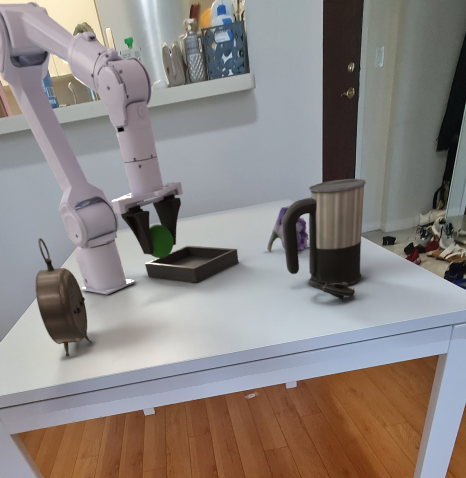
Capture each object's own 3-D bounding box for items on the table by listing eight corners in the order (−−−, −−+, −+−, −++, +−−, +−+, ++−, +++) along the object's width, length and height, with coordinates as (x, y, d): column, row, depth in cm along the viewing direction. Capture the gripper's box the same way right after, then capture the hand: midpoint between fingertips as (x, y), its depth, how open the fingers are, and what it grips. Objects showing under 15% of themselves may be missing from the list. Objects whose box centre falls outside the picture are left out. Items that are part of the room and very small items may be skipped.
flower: (253, 224, 97) (294, 193, 94) (259, 233, 105) (297, 205, 101) (274, 264, 99) (315, 235, 95) (279, 270, 106) (317, 243, 103)
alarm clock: (70, 335, 81) (31, 233, 70) (99, 330, 81) (65, 227, 70) (57, 361, 73) (10, 250, 62) (89, 356, 73) (48, 244, 62)
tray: (148, 276, 102) (144, 263, 101) (189, 258, 109) (187, 245, 107) (196, 283, 94) (194, 268, 92) (238, 262, 101) (237, 248, 99)
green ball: (142, 260, 86) (134, 228, 82) (163, 252, 88) (156, 220, 85) (161, 262, 83) (153, 229, 79) (182, 254, 85) (175, 221, 82)
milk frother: (342, 268, 88) (344, 176, 78) (397, 287, 77) (407, 181, 67) (278, 288, 85) (271, 194, 75) (325, 310, 73) (325, 203, 63)
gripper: (121, 167, 70) (144, 262, 79) (187, 149, 77) (201, 239, 86) (94, 169, 74) (120, 259, 83) (160, 152, 81) (176, 237, 90)
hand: (160, 249), depth 85 cm, fingers closed on green ball, 5 cm apart
